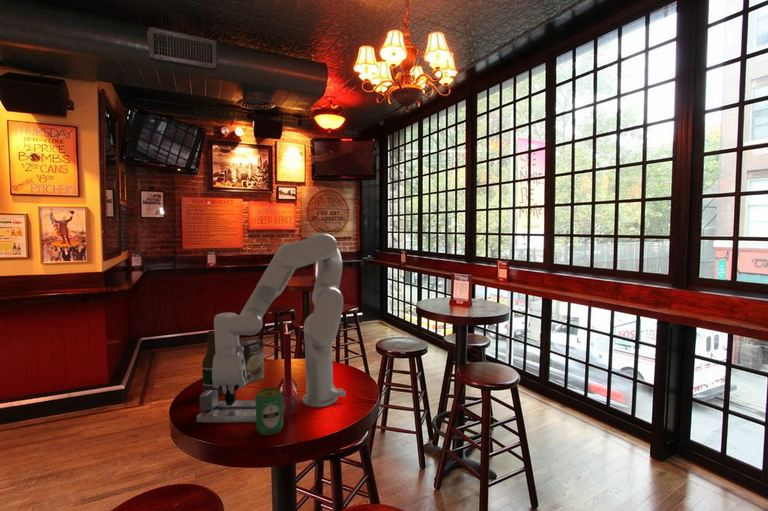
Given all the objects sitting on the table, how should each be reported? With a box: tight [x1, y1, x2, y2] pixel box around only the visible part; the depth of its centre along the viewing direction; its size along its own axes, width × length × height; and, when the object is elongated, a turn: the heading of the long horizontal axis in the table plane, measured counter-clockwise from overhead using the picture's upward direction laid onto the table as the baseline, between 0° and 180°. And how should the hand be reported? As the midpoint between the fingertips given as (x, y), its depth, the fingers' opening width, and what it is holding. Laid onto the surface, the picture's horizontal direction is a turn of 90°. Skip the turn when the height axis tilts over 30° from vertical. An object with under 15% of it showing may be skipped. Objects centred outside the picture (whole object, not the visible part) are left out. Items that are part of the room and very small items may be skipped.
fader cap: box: [199, 390, 219, 411], centre depth 137 cm, size 4×5×5 cm
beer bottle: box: [201, 329, 224, 397], centre depth 153 cm, size 8×8×24 cm
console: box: [196, 399, 256, 423], centre depth 137 cm, size 24×12×4 cm, turn 90°
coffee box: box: [239, 338, 265, 385], centre depth 167 cm, size 9×6×16 cm
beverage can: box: [254, 386, 284, 436], centre depth 125 cm, size 8×8×12 cm
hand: (230, 403), depth 137 cm, fingers closed
